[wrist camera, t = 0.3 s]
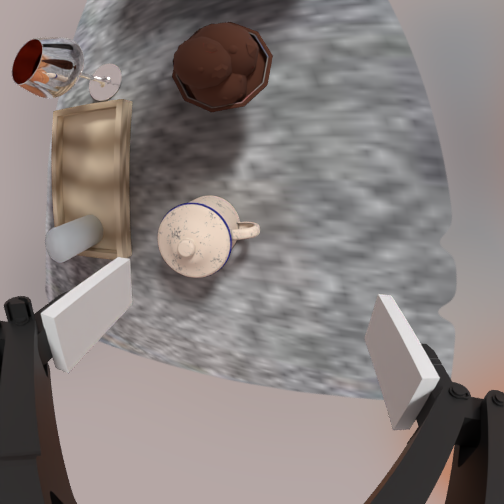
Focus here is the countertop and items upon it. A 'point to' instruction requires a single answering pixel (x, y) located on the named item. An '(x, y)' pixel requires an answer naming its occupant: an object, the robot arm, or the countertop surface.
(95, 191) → the tray
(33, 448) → the robot arm
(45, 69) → the wineglass
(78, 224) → the white rounded capsule
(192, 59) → the ice cream bowl
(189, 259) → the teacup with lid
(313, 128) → the countertop surface
